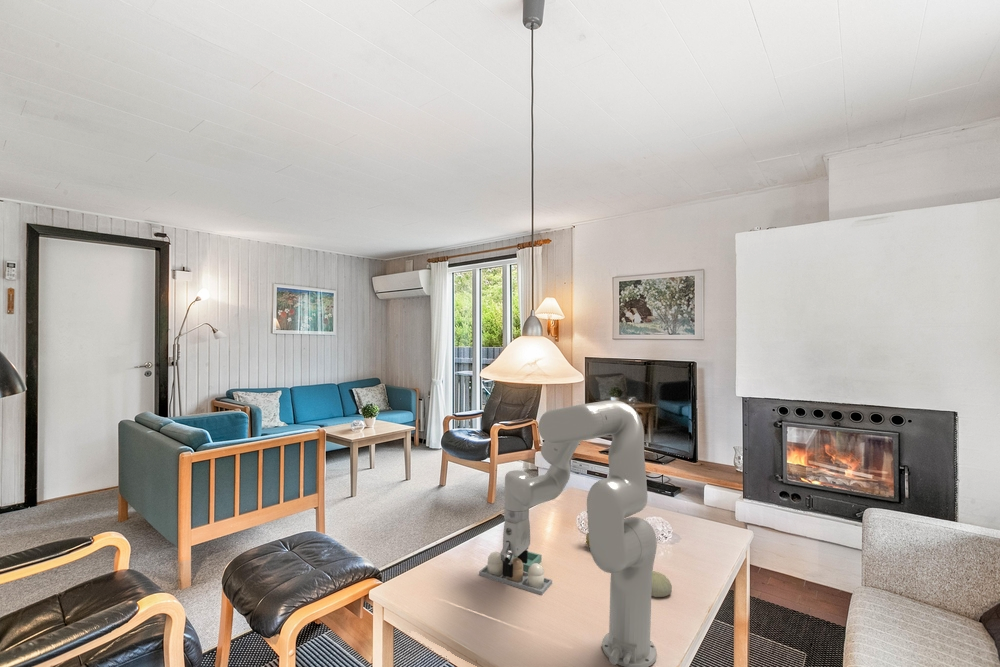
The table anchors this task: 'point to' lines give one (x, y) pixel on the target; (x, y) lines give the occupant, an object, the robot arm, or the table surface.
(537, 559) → the egg holder
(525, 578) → the egg carton
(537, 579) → the cream egg right
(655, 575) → the sea urchin shell
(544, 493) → the robot arm
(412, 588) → the table surface
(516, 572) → the brown egg
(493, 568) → the cream egg left
